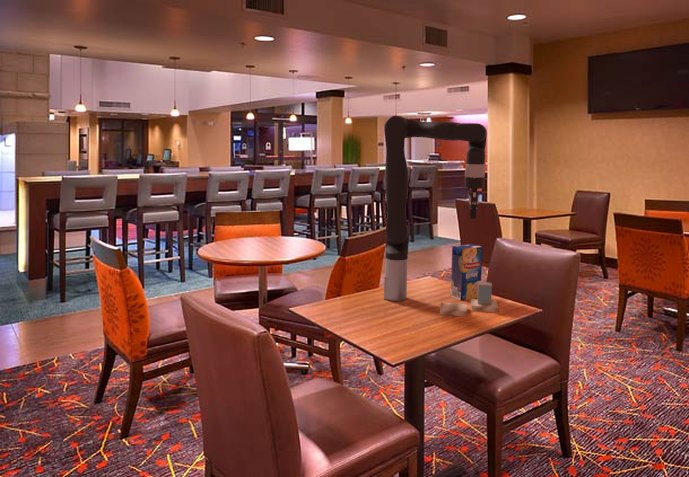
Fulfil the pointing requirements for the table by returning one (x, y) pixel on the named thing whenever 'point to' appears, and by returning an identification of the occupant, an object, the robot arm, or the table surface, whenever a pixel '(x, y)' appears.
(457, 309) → the stand
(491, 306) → the stand
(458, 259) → the blue food carton
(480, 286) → the block
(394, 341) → the table surface
